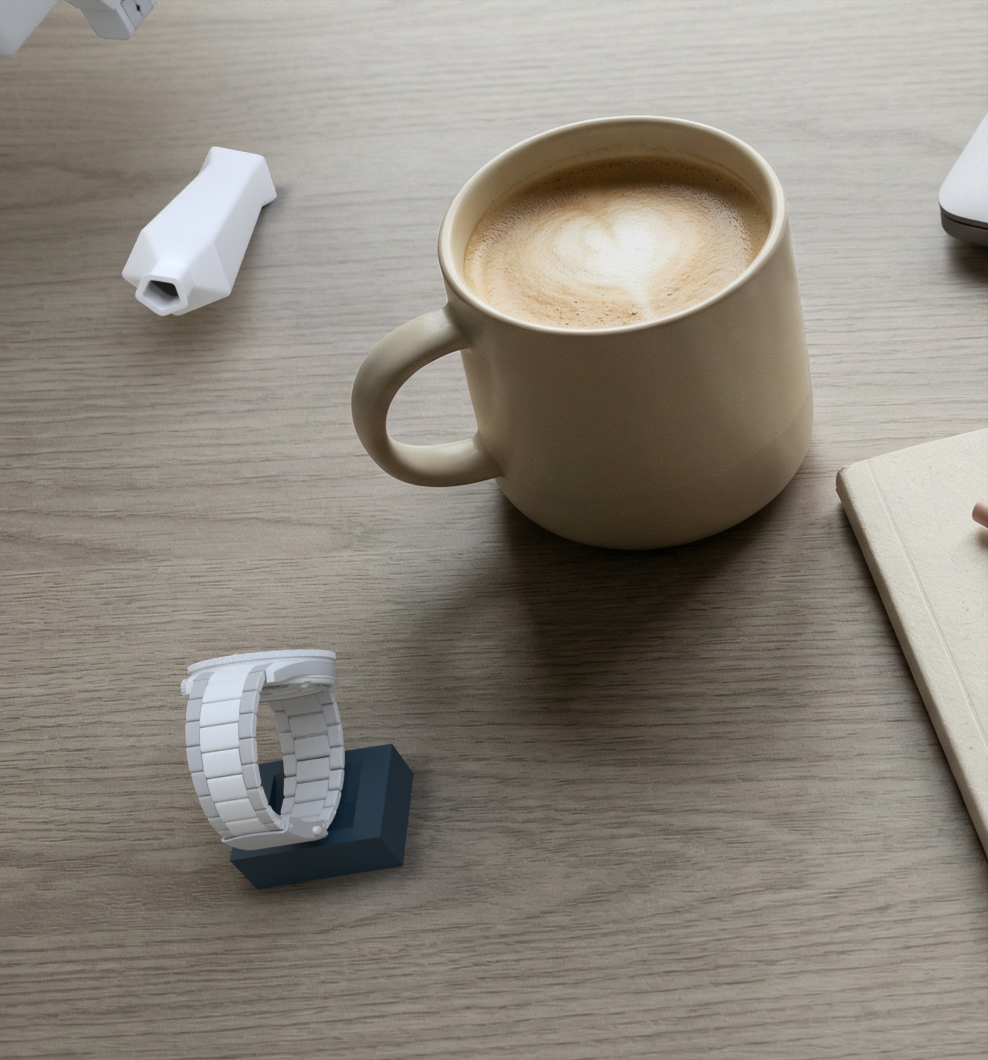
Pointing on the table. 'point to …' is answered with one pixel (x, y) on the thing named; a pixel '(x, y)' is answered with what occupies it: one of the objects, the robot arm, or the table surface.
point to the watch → (291, 771)
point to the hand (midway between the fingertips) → (129, 22)
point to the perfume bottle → (201, 235)
